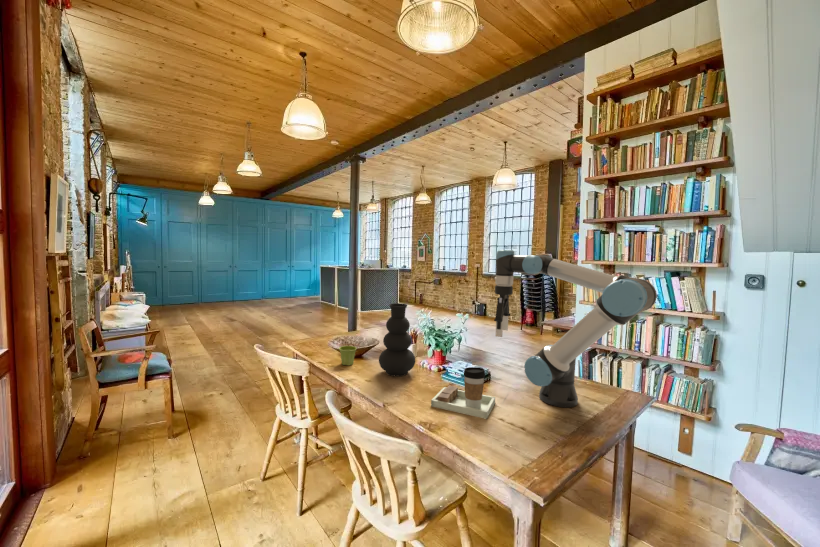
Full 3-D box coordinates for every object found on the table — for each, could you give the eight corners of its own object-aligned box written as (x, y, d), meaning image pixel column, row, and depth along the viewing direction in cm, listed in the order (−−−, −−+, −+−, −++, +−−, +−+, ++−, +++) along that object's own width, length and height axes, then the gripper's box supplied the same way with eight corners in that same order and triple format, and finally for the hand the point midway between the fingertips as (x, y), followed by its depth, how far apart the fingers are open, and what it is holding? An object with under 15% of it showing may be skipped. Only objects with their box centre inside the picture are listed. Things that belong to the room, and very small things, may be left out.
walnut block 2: (453, 399, 144) (453, 390, 143) (450, 403, 140) (450, 393, 140) (444, 397, 145) (444, 388, 145) (441, 401, 142) (441, 392, 141)
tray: (494, 405, 142) (495, 397, 141) (486, 421, 128) (486, 412, 128) (443, 394, 151) (444, 386, 151) (431, 408, 137) (431, 400, 137)
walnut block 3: (457, 396, 147) (457, 387, 147) (454, 400, 144) (454, 390, 143) (448, 394, 149) (448, 385, 149) (445, 398, 145) (445, 388, 145)
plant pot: (350, 360, 195) (351, 344, 195) (359, 364, 188) (359, 348, 187) (335, 363, 189) (335, 347, 189) (344, 367, 182) (344, 351, 181)
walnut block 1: (449, 404, 140) (450, 394, 139) (447, 408, 136) (447, 398, 136) (440, 402, 141) (440, 392, 141) (437, 406, 137) (437, 396, 137)
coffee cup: (484, 411, 133) (485, 373, 132) (462, 409, 134) (463, 371, 134) (483, 403, 141) (485, 366, 141) (462, 401, 143) (463, 365, 142)
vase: (402, 382, 163) (404, 309, 161) (371, 375, 172) (372, 305, 170) (421, 371, 179) (423, 304, 177) (391, 364, 188) (392, 300, 186)
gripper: (500, 282, 165) (498, 326, 166) (489, 287, 142) (487, 338, 144) (517, 283, 162) (514, 328, 163) (507, 288, 139) (505, 340, 140)
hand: (501, 333), depth 153 cm, fingers open, 13 cm apart
